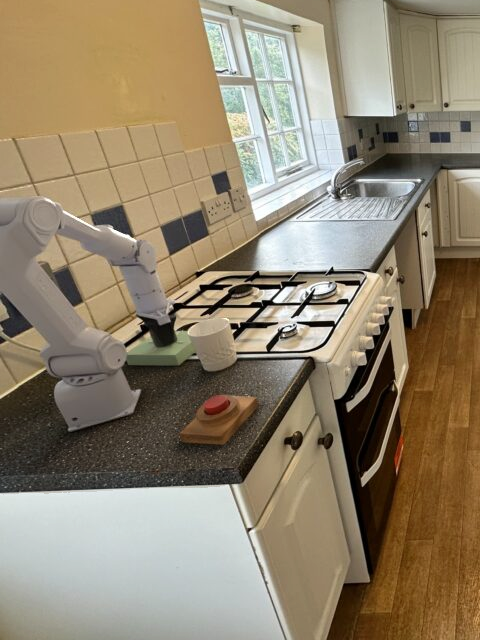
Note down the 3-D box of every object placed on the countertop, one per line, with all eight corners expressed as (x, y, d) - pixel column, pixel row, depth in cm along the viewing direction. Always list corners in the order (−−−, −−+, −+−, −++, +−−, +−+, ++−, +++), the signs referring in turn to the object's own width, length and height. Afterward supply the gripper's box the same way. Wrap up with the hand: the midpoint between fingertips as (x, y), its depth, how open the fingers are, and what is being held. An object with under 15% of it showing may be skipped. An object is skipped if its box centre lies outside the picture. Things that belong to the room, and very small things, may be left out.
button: (220, 416, 76) (217, 408, 76) (201, 415, 77) (198, 407, 76) (233, 402, 80) (231, 395, 79) (215, 401, 80) (213, 394, 79)
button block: (224, 445, 75) (218, 428, 73) (182, 442, 75) (175, 425, 74) (259, 405, 84) (254, 389, 82) (222, 403, 84) (216, 388, 83)
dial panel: (128, 365, 96) (123, 353, 95) (162, 340, 105) (158, 330, 104) (178, 365, 96) (174, 354, 95) (208, 341, 105) (205, 330, 104)
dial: (158, 339, 100) (152, 324, 99) (179, 335, 102) (174, 320, 100) (151, 349, 97) (145, 333, 95) (174, 344, 98) (168, 329, 97)
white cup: (208, 378, 92) (194, 340, 88) (195, 364, 96) (182, 328, 92) (246, 360, 97) (235, 324, 94) (232, 348, 102) (221, 313, 98)
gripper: (178, 292, 93) (195, 342, 98) (157, 275, 101) (175, 323, 106) (138, 304, 87) (159, 357, 93) (120, 286, 96) (140, 335, 101)
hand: (165, 339), depth 99 cm, fingers closed on dial, 4 cm apart
